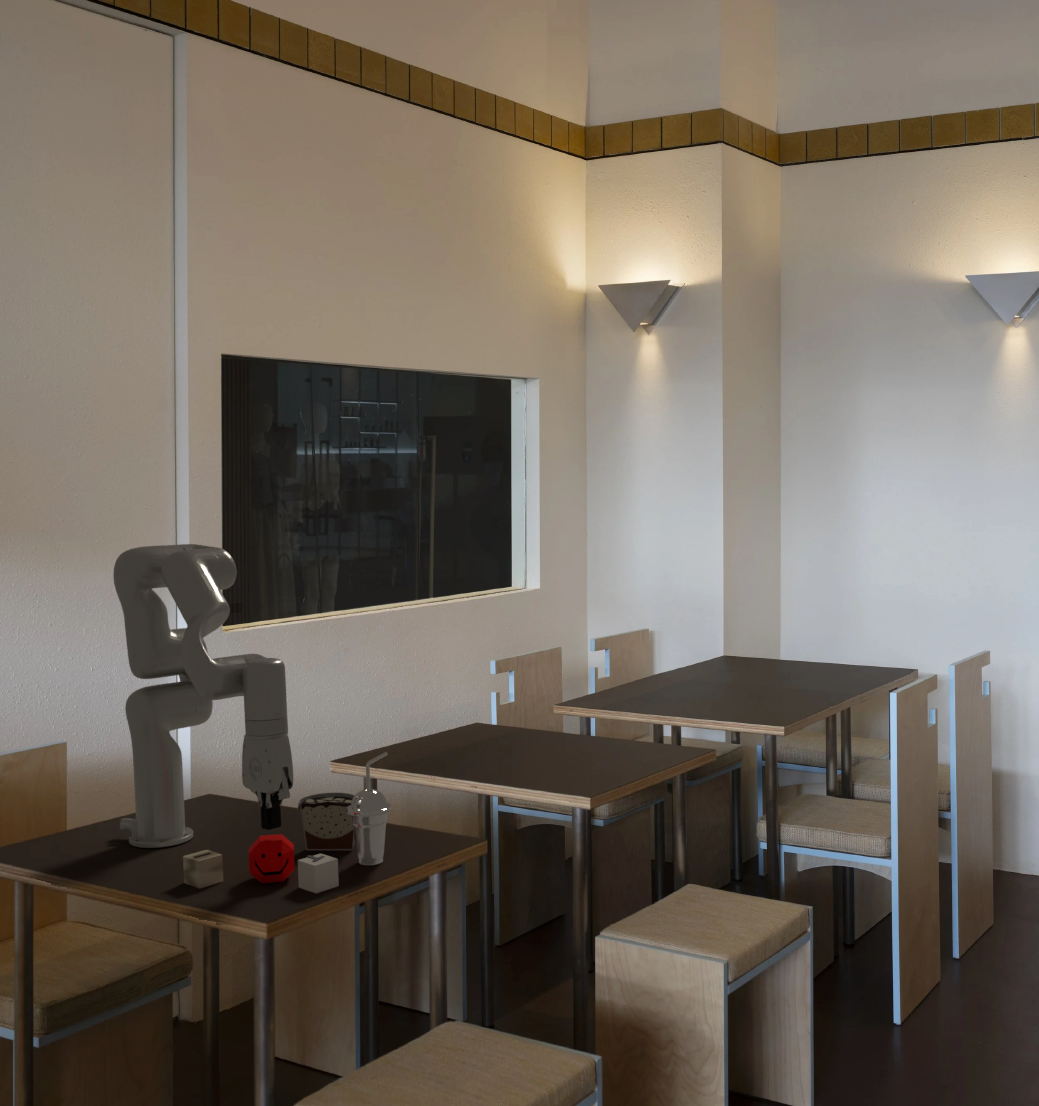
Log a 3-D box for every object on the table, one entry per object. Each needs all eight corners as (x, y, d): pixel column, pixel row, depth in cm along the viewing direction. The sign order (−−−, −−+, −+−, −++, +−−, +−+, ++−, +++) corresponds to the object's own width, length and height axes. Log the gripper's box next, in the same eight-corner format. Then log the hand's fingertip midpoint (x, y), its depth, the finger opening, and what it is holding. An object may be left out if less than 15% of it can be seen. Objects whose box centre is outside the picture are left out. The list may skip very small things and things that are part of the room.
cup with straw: (342, 859, 232) (338, 755, 231) (387, 851, 236) (383, 749, 235) (356, 871, 224) (352, 764, 223) (402, 863, 228) (399, 758, 227)
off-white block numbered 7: (298, 887, 216) (296, 859, 216) (320, 880, 220) (319, 852, 220) (315, 893, 213) (314, 864, 213) (338, 886, 216) (337, 857, 216)
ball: (249, 888, 217) (247, 846, 216) (250, 874, 224) (248, 833, 224) (295, 884, 218) (293, 842, 218) (294, 870, 226) (292, 830, 226)
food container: (367, 841, 243) (366, 791, 243) (360, 850, 237) (358, 799, 237) (307, 841, 245) (305, 791, 244) (298, 850, 239) (296, 799, 238)
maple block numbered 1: (184, 883, 221) (182, 855, 220) (208, 876, 224) (207, 848, 224) (199, 889, 217) (197, 860, 217) (223, 881, 221) (222, 853, 221)
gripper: (225, 726, 222) (230, 825, 223) (273, 735, 212) (278, 839, 213) (260, 719, 228) (264, 816, 228) (308, 728, 217) (313, 829, 218)
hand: (271, 827), depth 221 cm, fingers closed
